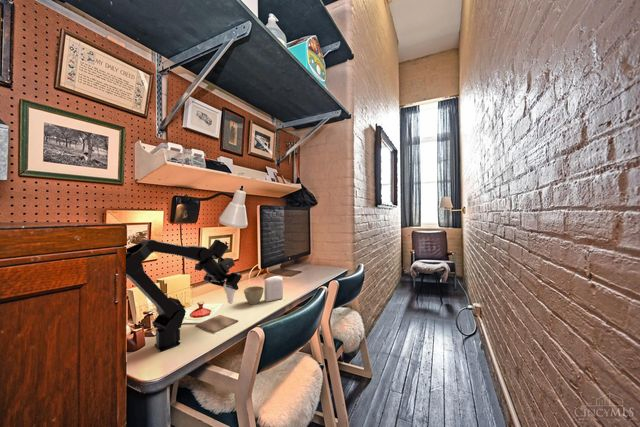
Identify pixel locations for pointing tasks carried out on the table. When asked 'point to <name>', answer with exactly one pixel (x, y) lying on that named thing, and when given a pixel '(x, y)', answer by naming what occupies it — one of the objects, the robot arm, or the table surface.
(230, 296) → the lightbulb
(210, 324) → the coaster
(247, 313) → the table surface
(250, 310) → the table surface
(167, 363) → the table surface
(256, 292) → the flower pot
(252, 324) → the table surface
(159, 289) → the robot arm
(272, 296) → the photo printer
